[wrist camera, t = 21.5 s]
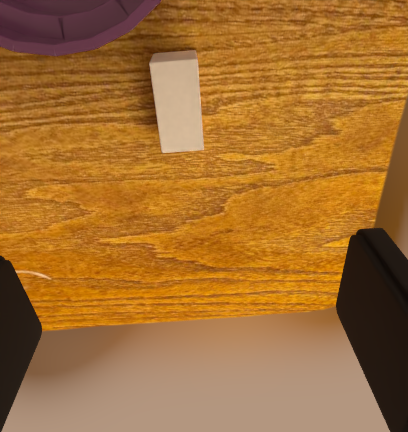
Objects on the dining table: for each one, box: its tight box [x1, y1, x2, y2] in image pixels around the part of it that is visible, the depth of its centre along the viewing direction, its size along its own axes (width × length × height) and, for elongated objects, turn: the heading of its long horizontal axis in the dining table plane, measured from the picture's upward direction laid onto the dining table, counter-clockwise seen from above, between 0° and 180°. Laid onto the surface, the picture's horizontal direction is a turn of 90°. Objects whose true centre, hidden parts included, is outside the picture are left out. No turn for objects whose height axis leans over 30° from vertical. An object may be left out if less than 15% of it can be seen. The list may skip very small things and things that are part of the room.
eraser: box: [149, 50, 204, 153], centre depth 25 cm, size 6×3×4 cm, turn 4°
